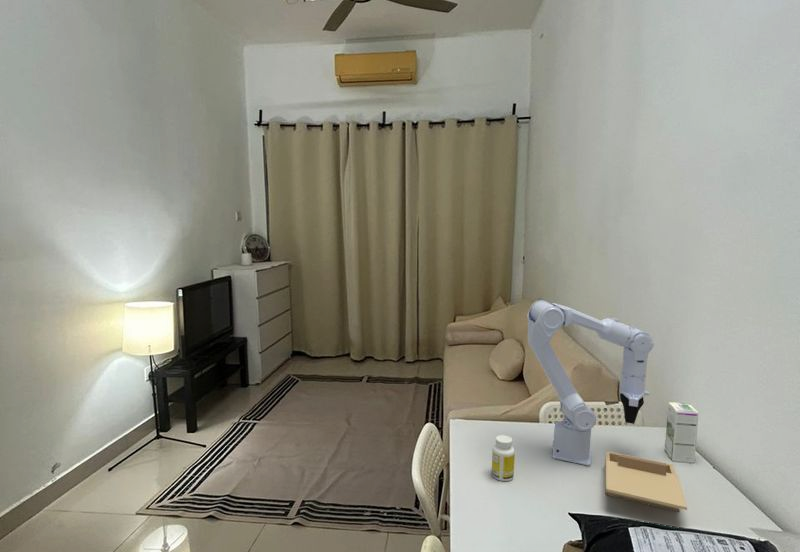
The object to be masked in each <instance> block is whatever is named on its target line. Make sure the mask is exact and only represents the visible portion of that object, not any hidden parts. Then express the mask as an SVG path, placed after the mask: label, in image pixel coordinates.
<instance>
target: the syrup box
mask: <svg viewBox="0 0 800 552" xmlns="http://www.w3.org/2000/svg"><path fill="white" fill-rule="evenodd" d="M667 405H668V406H667V414H666V415H667V416H666V417H667V418H666V429H665V440H664V441H665V442H664V443H665V444H664V452H665V454H666V455H667V456H668V457H669V458H670V459H671V461H672V462H677V463H689V464H695V463H696V462H695V461H696V452H697V451H696V450H697V449H696V448H697V437H698V436H697V435H698V426H699V425H698V423H699V413H700V412H699V411H698V410H697V409H696V408H694V407H693V405H691V404H690V403H686V402H670V401H669V402H668V404H667Z"/></svg>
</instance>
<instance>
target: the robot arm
mask: <svg viewBox="0 0 800 552" xmlns="http://www.w3.org/2000/svg"><path fill="white" fill-rule="evenodd" d="M526 317H527V343H528V346H529V347H530V349H531V350H532V352H533V354H534V355H535V358H536V359H537V361H538V363H539V364H540V366H541V368H542V370H543V371H544V373H545V375H546V377H547V379H548V381H549V383H550V384H551V386H552V387H553V389H554V391H555V392H556V394H557V398H558V401H559V403H560V406H559V407H560V411H561V413H562V414H563V419H562V421H560V420H559V421H558V420H556V421H555V422H554V430H553V440H552V446H551V447H552V448H553V449H552V457H551V458H552V459H555V460H560V461H565V462H570V463H573V464H574V463H575V464H579V465H584V466H588V467H589V466H591V463H592V462H591V461H592V460H591V459H592V451H591V450H590V449H591V436H592V428H594V427H595V426H596V423H597V415H596V412H594V410H592V409H591V408H590V407H589V406H588V405H586V402H585V401H584V399H582V397H581V396H580V394H579V393H578V391H577V389H576V388H575V386H574V384H573V382H572V381H571V379H570V377H569V376H568V373H567V372H566V370H565V368H564V366H563V365H562V363H561V362H560V359H559V357H558V356H557V354H556V352H555V351H554V349H553V347H552V345H551V340H552V338H553V337H554V335H556V333H557V332H558V331H559V330H560V329H561V327H562V326H563V327H568V326H570V325H571V324H574V325H577V326H579V327H583V328H585V329H587V330H590V331H594V332H596V334H597V336H598V337H599V339H601V340H604V341H607V342H609V343H612V344H614V345H617V346H619V347H623V352H622V366H621V375H620V376H621V378H620V387H619V392H620V394H619V398H620V399H619V400H620V402H621V405H622V407H623V413H624V420H625V421H624V422H625V423H628V424H632V425H633V424H635V423H636V421H637V418H638V414H639V411H640V410H641V408H642V406H644V403H645V400H644V397H645V396H650V391H649V390H646V388H645V387H646V377H647V368H648V367H647V365H648V359H649V354H650V352H651V351H652V350H653V348H654V345H655V343H654V342H653V339H652V337H651V336H650V334H649V333H647V332H645V331H642V330H640V329H638V328H636V327H635V326H634V325H632V324H629V325H627V324H625V323H622V322H619V321H620V319H617V318H615V317H612V318H609V317H607V318H603V319H602V320H601V319H598V318H595V317H593V316H591V315H589V314H586V313H584V312H582V311H579V310H575V309H574V308H571V307H569V306H566V305H563V304H559V303H554V302H551V303H550V301H549V302H548V301H547V300H543V299H541V300H536V301H534V302H533V303H532V304H531V306H530V308H529V310H528V312H527V314H526Z"/></svg>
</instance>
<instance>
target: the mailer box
mask: <svg viewBox="0 0 800 552" xmlns="http://www.w3.org/2000/svg"><path fill="white" fill-rule="evenodd" d="M619 454H621V455H626V456H631V457H636V458H641V459H646V460H651V461H656V462H661V463H666V462H663V461H659V460H658V461H657V460H653V459H647V458H643V457H639V456H632V455H628V454H624V453H623V454H622V453H617V452H614V451H610V450H608V451H607V450H606V451H605V461H604V462H605V463H604V494H605V496H606V495H607V496H610V497H614V498H618V499H621V500H622V499H623V500H627V501H631V502H636V503H640V504H643V503H644V505H648V504H649V505H648V506H652V505H653V506H652V507H658V508H660V509H661V508H662V509H666V510H669V511H674V512H678V513H680V508H676V507H671V506H667V505H663V504H658V503H654V502H650V501H646V500H641V499H637V498H633V497H628V496H624V495H620V494H616V493H611V492H607V491H606V460H608V461H613V462H618V455H619ZM666 465H667V468H666V473H671V474H675V475H677V474H676V471H675V467H674V464H673V463H668V462H667V463H666Z"/></svg>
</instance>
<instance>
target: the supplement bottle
mask: <svg viewBox="0 0 800 552" xmlns="http://www.w3.org/2000/svg"><path fill="white" fill-rule="evenodd" d="M515 451H516V450H515V448H514V446H513V438H512V437H510V436H508V435H503V434H499V435H498V436H496V437H495V444H494V446H493V447H492V456H491V458H492V459H491V461H492V462H491V475H492V477H493V478H494V479H495V480H498V481H502V482H509V481H512V480H513V479H514V474H515V455H516V454H515V453H516V452H515Z"/></svg>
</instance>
